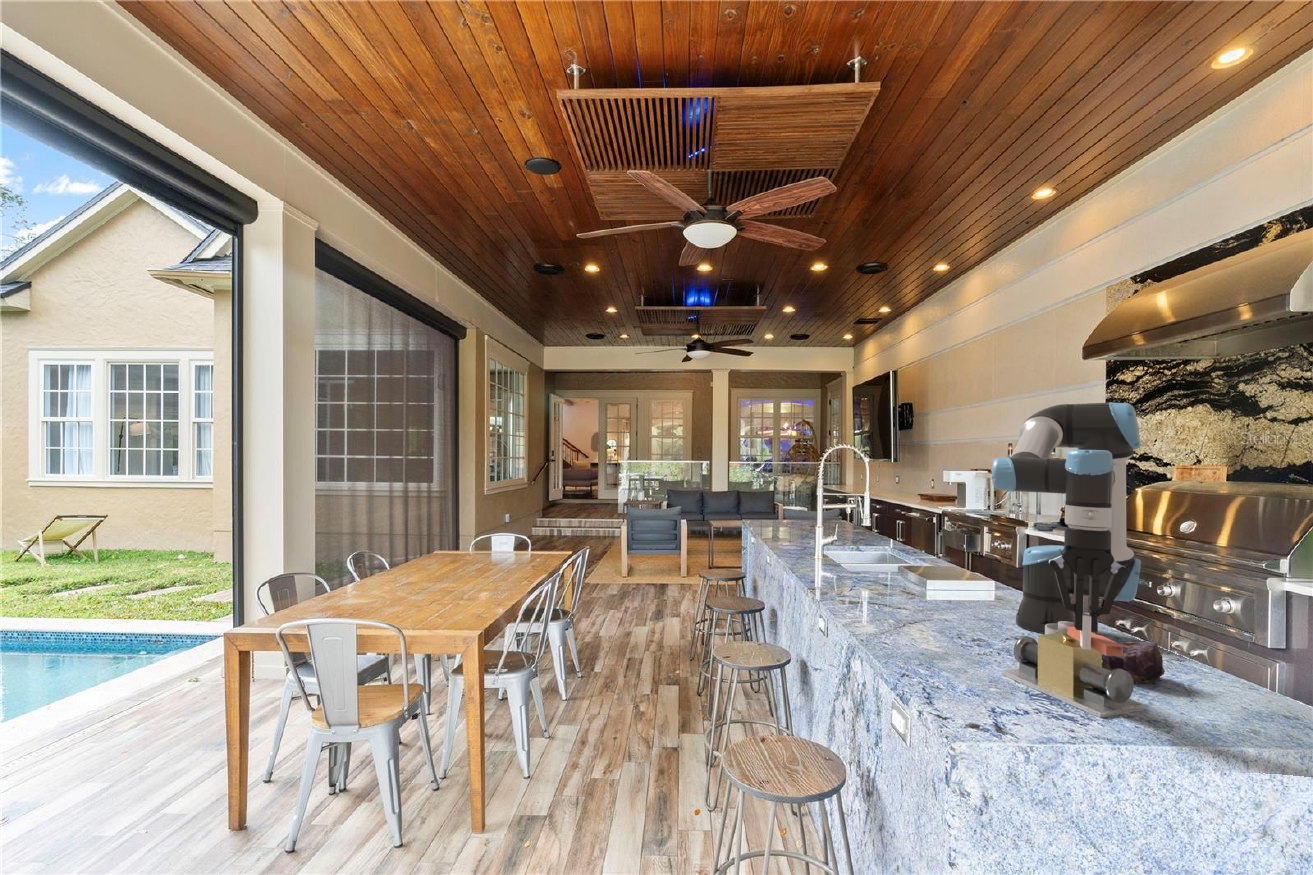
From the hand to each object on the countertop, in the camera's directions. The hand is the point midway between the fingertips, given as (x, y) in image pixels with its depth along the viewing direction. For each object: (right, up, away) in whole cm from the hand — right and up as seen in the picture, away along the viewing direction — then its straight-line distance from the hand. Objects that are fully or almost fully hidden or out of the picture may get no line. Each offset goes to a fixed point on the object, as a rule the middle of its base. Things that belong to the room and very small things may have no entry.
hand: (1085, 647), depth 118 cm
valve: (+3, -13, +10) cm, 16 cm away
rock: (+23, -13, +16) cm, 31 cm away
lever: (+3, 0, +4) cm, 5 cm away
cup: (+13, -13, +24) cm, 31 cm away
